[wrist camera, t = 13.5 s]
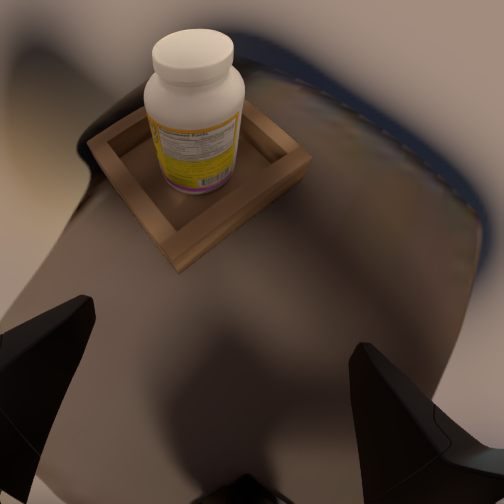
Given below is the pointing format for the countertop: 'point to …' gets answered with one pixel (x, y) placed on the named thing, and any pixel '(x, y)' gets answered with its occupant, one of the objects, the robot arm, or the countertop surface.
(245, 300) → the countertop surface
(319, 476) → the countertop surface
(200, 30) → the supplement bottle
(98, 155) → the box
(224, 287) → the countertop surface
